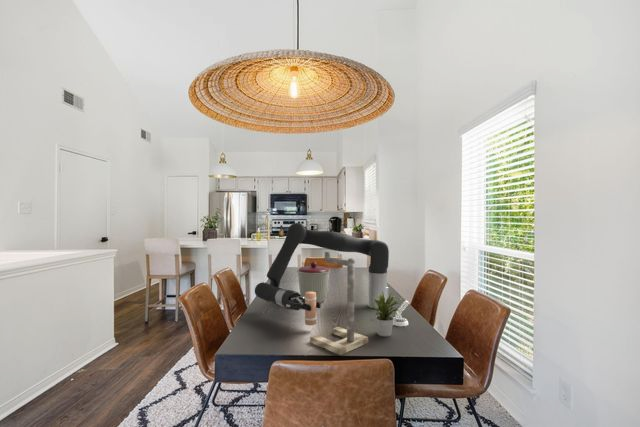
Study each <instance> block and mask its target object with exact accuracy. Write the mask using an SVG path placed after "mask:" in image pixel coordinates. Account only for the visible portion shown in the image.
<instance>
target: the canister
mask: <svg viewBox="0 0 640 427" xmlns="http://www.w3.org/2000/svg"><path fill="white" fill-rule="evenodd" d="M309 264H310V265H305V266H301V267H299V268H298V269H297V270H296V272H297V277H298V285H299V294H300V295H301V296H303V297H305V293H306V292H316V299H317V302H320V303H323V302H324V301H325V300H326V298H327V294H328V287H329V281H330V280H329V279H330V278H329V276H330V273H331V269H329V268H328V267H326V266H323V265H321V266H319V265H318V263H317V261H311V262H310V263H309Z"/></svg>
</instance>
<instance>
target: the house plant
mask: <svg viewBox="0 0 640 427" xmlns="http://www.w3.org/2000/svg"><path fill="white" fill-rule="evenodd" d="M392 294H393V293H392V292H391V293H390V294H388V298H387V300H386V302H385V298H384V294H383V291H382V296H381V294H380V293H379V300H376V299H375V298H374V297H372V298H373V299H374V302H376V303H377V304H376V305H377V306H378V308H379V309H377V308H375V307H374V306H368V307H369V308H371V309H374V310H375V311H376V313H375V315H376V316H374V318H375V319H374V320H375V324H376V332H377V335H378V336H380V337H390V336H391V335H392V330H393V327H394V325H393V320H394V317H393V316H392V314H396V315H397V313H396V312H397V311H400V310H398V309H399V308H401V307H400V306H398V307H394V306H395V305H397V304H398V305H399V304H400V302H399V301H401V298H399V299H398V298H397V299H396V300H395V299H394V298H395V297H396V294H395V295H392ZM396 315H395V316H396Z"/></svg>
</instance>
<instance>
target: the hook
mask: <svg viewBox="0 0 640 427" xmlns="http://www.w3.org/2000/svg"><path fill="white" fill-rule="evenodd" d="M409 304H410V302H409V301H408V300H405V301H404V302H402V303H401V305H400V306H399V307H401V308H399V307H398V310H400V311H395V312H396V313H397V315H396V314H395V313H394V314H395V315H394V316H395V317H393V318H394V320H393V326H395V327H407V326H409V321H408V319H407V318H405V317H403V315H402V313H403V312H404V311H405V310H406V308H407V307H408V306H409Z"/></svg>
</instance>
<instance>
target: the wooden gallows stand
mask: <svg viewBox="0 0 640 427" xmlns="http://www.w3.org/2000/svg"><path fill="white" fill-rule="evenodd" d="M324 263H327V264H334V265H338V266H346V267H347V268H346V269H347V273H346V274H347V282H346V284H347V286H346V288H347V289H346V291H347V292H346V293H347V294H346V296H347V298H346V300H347V301H346V302H347V303H346V306H347V307H346V310H347V311H346V329H345V328H344V327H340V326H337V327H334V328H333V329H332V334H333V335H335V336H339V337H341V338H342V339H339V340H336V341H333V340H331V339H328V338H326V337H323V336H320V335H318V334H314V335H311V336H310V337H309V342H310V344H313V345H315V346H318V347H320V348H322V349H324V348H325V350H326V351H330V352H332V353H334V354H336V355H337V356H342V355H344V354H346V353H349V352H350V351H351V352H352V350H355V349H358V348H359V347H362V346H364V345H366V344H368V343H369V337H368V336H366V335H363V334H360V333H357V332H355V259H354V258H352V257H351V258H348V259H341V258H334V257H331V251H324Z"/></svg>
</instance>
